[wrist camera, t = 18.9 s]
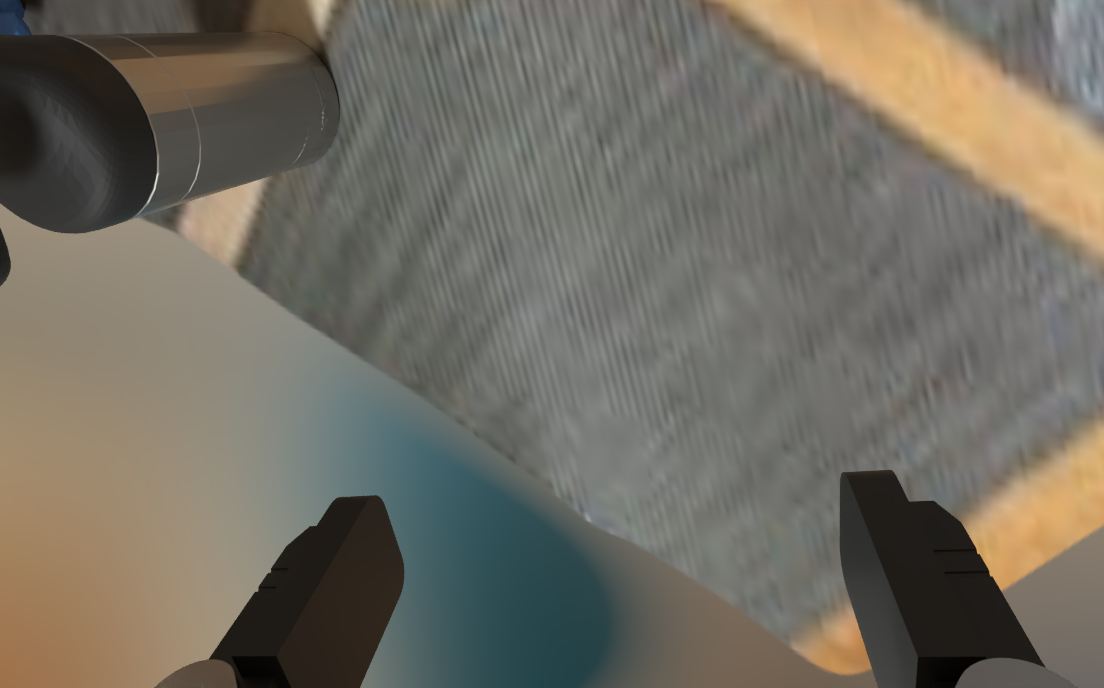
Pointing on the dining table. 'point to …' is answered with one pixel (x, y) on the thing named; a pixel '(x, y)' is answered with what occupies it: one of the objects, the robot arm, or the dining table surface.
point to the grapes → (12, 18)
